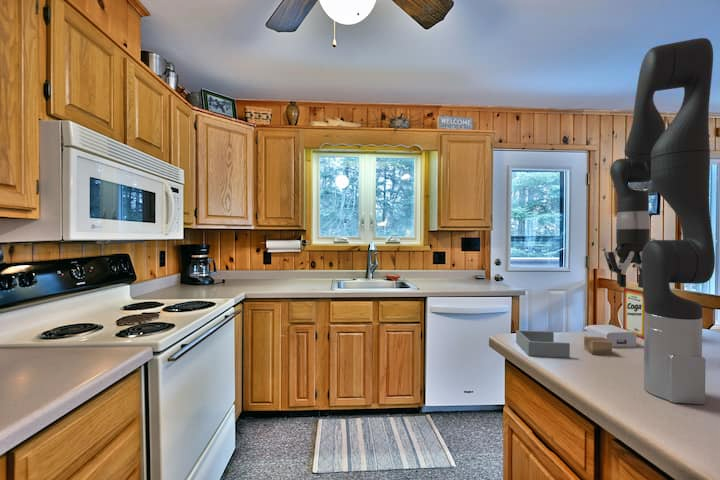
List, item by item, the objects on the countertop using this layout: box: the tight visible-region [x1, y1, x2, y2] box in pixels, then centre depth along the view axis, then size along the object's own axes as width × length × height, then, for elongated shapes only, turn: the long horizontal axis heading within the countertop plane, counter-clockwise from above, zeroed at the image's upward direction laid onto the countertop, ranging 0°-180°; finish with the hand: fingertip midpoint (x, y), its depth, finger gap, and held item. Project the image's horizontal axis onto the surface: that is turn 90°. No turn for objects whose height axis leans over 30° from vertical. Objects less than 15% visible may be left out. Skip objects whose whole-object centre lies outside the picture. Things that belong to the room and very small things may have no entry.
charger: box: [584, 324, 637, 348], centre depth 112 cm, size 5×9×15 cm
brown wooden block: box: [583, 335, 613, 357], centre depth 100 cm, size 5×5×4 cm
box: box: [515, 329, 571, 359], centre depth 102 cm, size 12×11×4 cm
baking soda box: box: [622, 287, 645, 340], centre depth 116 cm, size 10×6×16 cm
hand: (632, 287), depth 98 cm, fingers open, 4 cm apart
